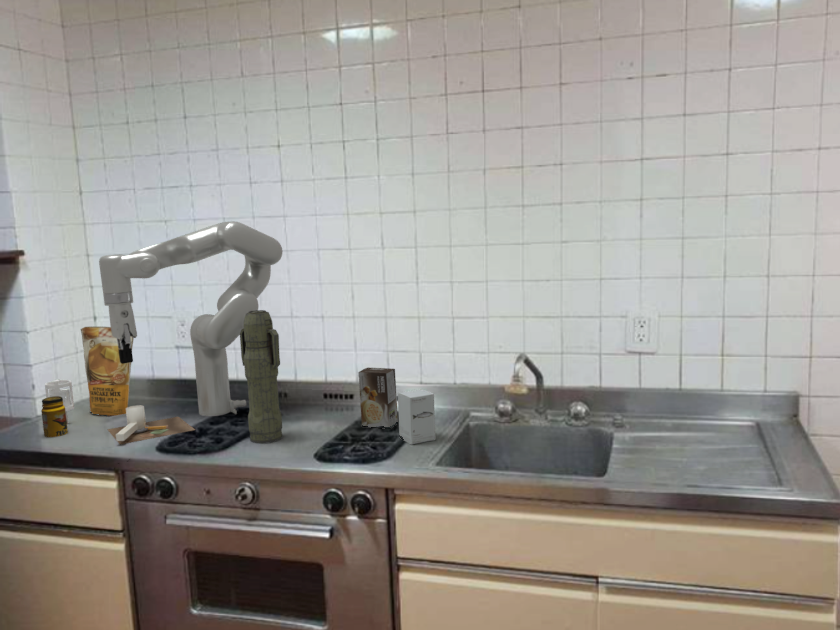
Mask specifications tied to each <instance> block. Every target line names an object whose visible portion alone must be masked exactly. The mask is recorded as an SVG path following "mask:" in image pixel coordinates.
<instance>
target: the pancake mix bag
mask: <svg viewBox="0 0 840 630" xmlns="http://www.w3.org/2000/svg"><path fill="white" fill-rule="evenodd" d="M80 332H81V340H82V348H83V358H84V367H85V369H84V370H85V373H86V374H85V375H86V380H87V388H88V393H89V395H88V397H89V412H90V411H91V412H92V413H93V414H99V415H98V416H100V415H107V416H106V417H115V416H116V417H117V416H121V415H122V416H123V415H126V408H127V407H129V396H130V382H131V370H132V369H131V368H132V363H133V362H130V363H124V364H122V363H120V358H119V351H118V349H119V348H118V343H117V338H115V337H113V336H112V332H111V326H84V327H82V328H80ZM130 338H131V348H132V349H133V344H134V340H135V338H133V337H131V336H130ZM92 413H91V414H92Z"/></svg>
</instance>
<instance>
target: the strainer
mask: <svg viewBox="0 0 840 630" xmlns="http://www.w3.org/2000/svg"><path fill="white" fill-rule="evenodd" d="M44 387H45V388H44V390H45V398H48V397H53V396H60V397H62V398H63V405H64V406H65V411H66V419H67V425H68V424H69V419H68V418H69V417H68V412H69V411H72V410H74V409H75V403H74V392H73V386H72V380H70V379H59V378H58V379H54V380H52V381H51V380H50V381H47V382H45V383H44ZM66 388H67V389H66Z"/></svg>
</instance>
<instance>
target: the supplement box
mask: <svg viewBox="0 0 840 630" xmlns="http://www.w3.org/2000/svg"><path fill="white" fill-rule="evenodd" d="M397 414H398V432H399V433H398V435H400V436H402V437H403V439H404V440H403V441H404V442H405V443H407V444H408V445H409V444H410V445H411V446H412V445H414V444H420V443H426V442H430V441H435V440H436V417H435V416H436V415H435V393H433V392H431V391H428V390H425V389H423V388H421V389H419V388H418V389H414V390H413V389H412V390H407V391H400V392H397Z"/></svg>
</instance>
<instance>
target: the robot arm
mask: <svg viewBox="0 0 840 630" xmlns="http://www.w3.org/2000/svg"><path fill="white" fill-rule="evenodd" d="M228 251H235V252H237V253H238V254H241V255H243V257H244V261H245V262H244V263H245V265H244V269H243V270H242V272H241V274H240V275H239V276H238V277H237V278H236V279H235V280H234V281H233V282H232V283H231V285H229V286H228V288H227V289H226V290H225V291H224V292H223V293H221V295H220V296H219V298H218V299H217V302H216V308H217V312H216V313H215V314H209V313H208V314H201V315H199V316H197V317H195V319H194V320H192V323H191V325H190V329H189V333H190V334H189V335H190V342H191V346H192V350H193V358H194V371H195V378H196V379H195V381H196V383H195V384H196V392H197V393H196V394H197V405H198V415H199V416H202V417H218V416H223V415H227V414H229V413H232V414H234V415H237V414H238V413H237V410H236V409H237V408H239V407H240V408H241V407H246V406H247V401H246V399H242V400H240V399H237V400H232V398H231V393H230V392H231V391H230V379H229V367H228V366H229V365H228V355H227V349H226V348H227V347H229V346H230V345H231V344H232V343H233V342H235V340H236V339H237V338H239V337H240V332H241V330H242V329H243V328H244V319H245V315H246V313H248V312H249V311H256V310H259V300H258V298H259V297H260V295H261V294H262V293H263V292H264V291H265V289H266V287H267V286H268V285H269V282H270V279H271V271H272V269H271V266H274V265H276V264H277V263H278V262H279V261H280V260H281V259H282V256H283V248H282V245H281V243H280V242H279V241H278V240H277V239H276V238H273V236H270V235H267V234H265V233H264V232H262V231H258V230H257V229H255V228H252V227H250V226H249V225H246V224H244V223H242V222H239V221H232V220H231V221H222V222H219V223H216V224H212V225H210V226H208V227H204V228H201V229H198V230H194V231H192V232H189V233H185V234H183V235H180V236H176V237H174V238H171V239H168V240H165V241H162V242H160V243H156V244H153V245H150V246H147V247H144V248H141V249H138V250H135V251H132V252H130V253H129V254H127V255H126V254H108V255H103V256H100V258H99V260H98V264H99V274H100V280H101V288H102V292H103V293H102V295H103V303H104V306H107V307H108V315H109V325H110V326H109V327H111V332H112V336H113V337H115V338H117V343H118V348H119V349H118V351H119V358H120V363H122V364H124V363H130V362H132V363H133V362H134V358H133V347H132V348H131V338H130V336H131V337H133V338H134V339H136V338H137V337H138V331H137V326H136V320H135V314H134V309H133V305H132V304H133V303H134V297H133V289H132V280H131V279H150V278H152V277H155V276H156V275H157V274H158V272H159V271H160V270H163V269H166V268H169V267H173V266H177V265H187V264H192V263H193V264H194V263H196V262H200V261H202V260H204V259H207V258H209V257H210V258H211V257H212V256H216V255H219V254H221V253H225V252H228Z"/></svg>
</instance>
